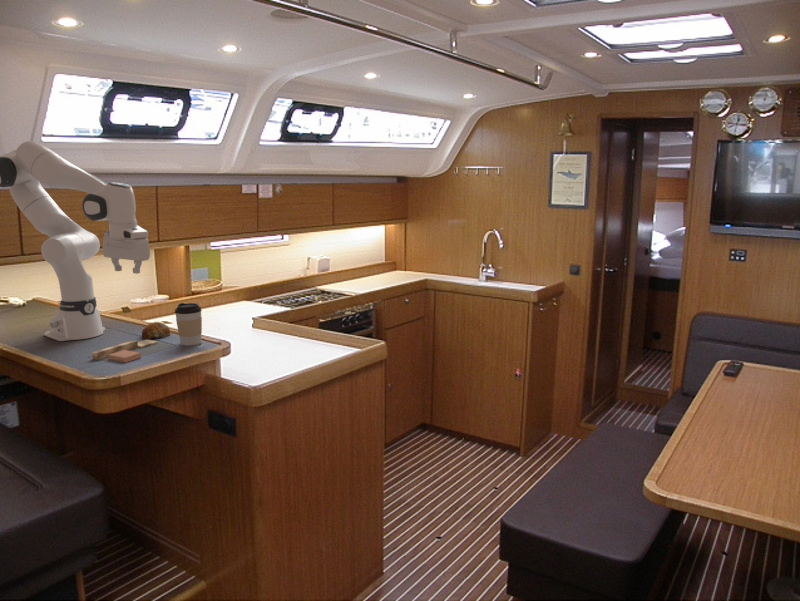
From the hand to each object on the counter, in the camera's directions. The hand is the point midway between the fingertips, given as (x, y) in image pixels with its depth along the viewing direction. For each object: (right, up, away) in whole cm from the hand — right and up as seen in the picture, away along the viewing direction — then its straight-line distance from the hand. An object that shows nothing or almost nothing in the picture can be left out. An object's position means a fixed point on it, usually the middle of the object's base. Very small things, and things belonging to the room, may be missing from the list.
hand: (127, 272), depth 220 cm
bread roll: (+3, -24, +19) cm, 31 cm away
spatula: (-1, -27, 0) cm, 27 cm away
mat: (+2, -28, -1) cm, 28 cm away
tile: (0, -28, -7) cm, 28 cm away
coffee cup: (+19, -26, +9) cm, 33 cm away
